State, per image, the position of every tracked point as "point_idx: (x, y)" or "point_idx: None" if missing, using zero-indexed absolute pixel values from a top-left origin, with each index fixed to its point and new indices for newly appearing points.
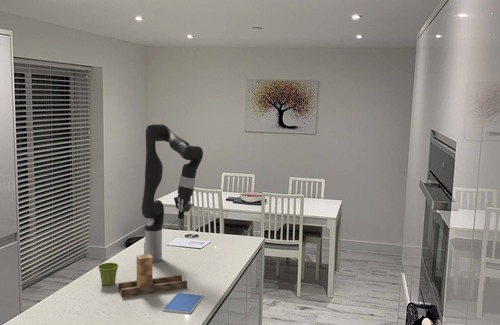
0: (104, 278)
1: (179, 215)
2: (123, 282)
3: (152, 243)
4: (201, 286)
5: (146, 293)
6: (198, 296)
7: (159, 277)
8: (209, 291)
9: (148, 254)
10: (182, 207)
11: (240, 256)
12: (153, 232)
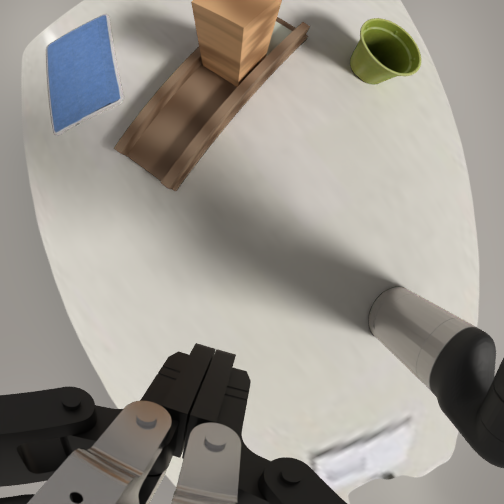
0: (369, 39)
1: (199, 368)
2: (298, 32)
3: (420, 316)
4: (93, 193)
5: None
6: (60, 119)
7: (222, 117)
8: (57, 176)
9: (239, 18)
10: (78, 456)
11: (174, 459)
12: (446, 338)
